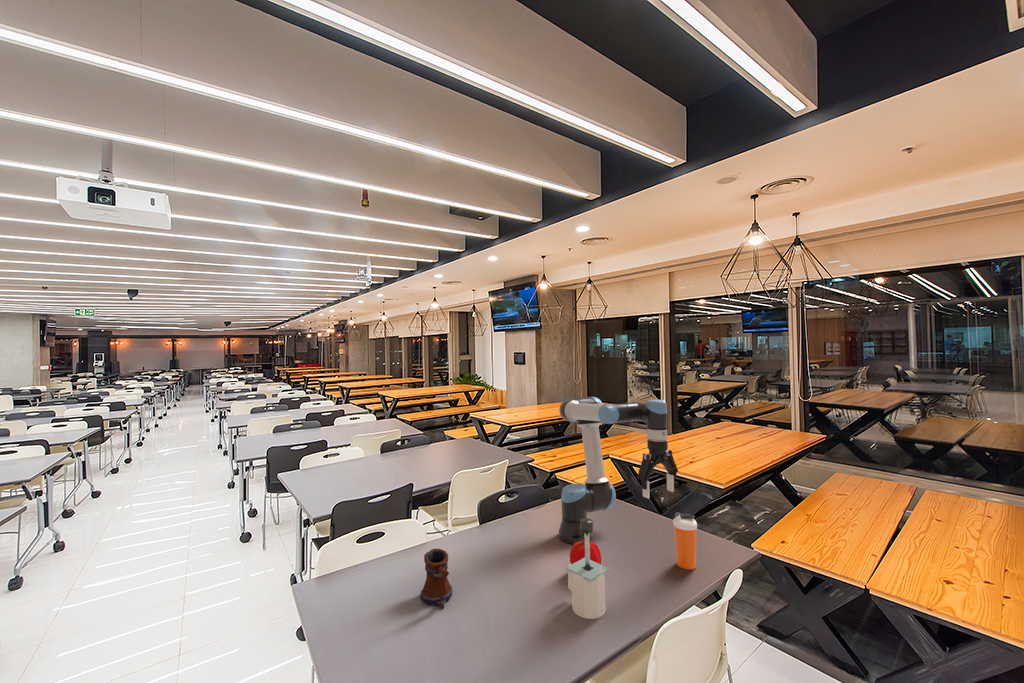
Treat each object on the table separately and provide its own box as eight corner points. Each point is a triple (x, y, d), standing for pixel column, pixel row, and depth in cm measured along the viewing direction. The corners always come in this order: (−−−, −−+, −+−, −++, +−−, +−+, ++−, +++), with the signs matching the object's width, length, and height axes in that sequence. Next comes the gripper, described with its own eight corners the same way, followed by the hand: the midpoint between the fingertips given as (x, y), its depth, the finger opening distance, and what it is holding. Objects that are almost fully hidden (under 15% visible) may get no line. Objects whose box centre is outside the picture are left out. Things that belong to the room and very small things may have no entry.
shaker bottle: (701, 572, 156) (699, 519, 157) (676, 570, 158) (675, 518, 159) (695, 560, 165) (693, 511, 166) (672, 558, 167) (670, 510, 168)
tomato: (605, 582, 151) (604, 546, 151) (573, 584, 150) (572, 547, 150) (597, 566, 162) (596, 532, 163) (567, 567, 161) (566, 534, 162)
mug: (462, 611, 135) (462, 565, 136) (428, 621, 130) (428, 573, 131) (447, 584, 151) (447, 543, 152) (417, 592, 146) (416, 550, 147)
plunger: (571, 576, 136) (570, 520, 137) (586, 568, 141) (584, 514, 142) (589, 585, 130) (588, 527, 131) (604, 576, 135) (602, 521, 136)
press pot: (559, 604, 138) (558, 564, 138) (580, 591, 145) (579, 553, 145) (591, 624, 127) (590, 580, 128) (612, 609, 134) (611, 568, 135)
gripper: (641, 445, 148) (643, 503, 148) (686, 437, 161) (688, 491, 160) (626, 441, 155) (628, 497, 154) (671, 434, 167) (672, 485, 167)
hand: (658, 494), depth 157 cm, fingers open, 13 cm apart
